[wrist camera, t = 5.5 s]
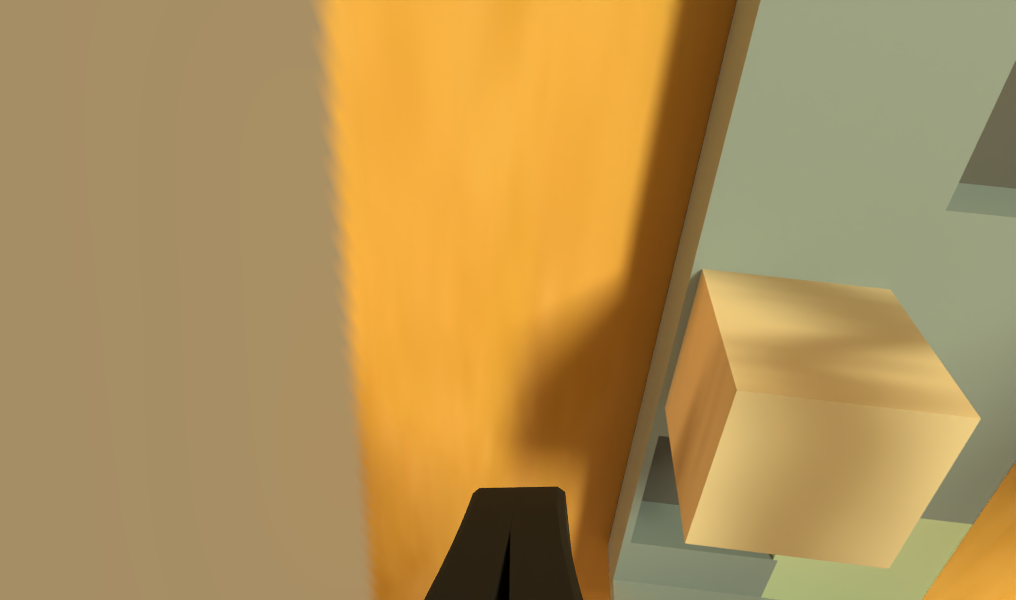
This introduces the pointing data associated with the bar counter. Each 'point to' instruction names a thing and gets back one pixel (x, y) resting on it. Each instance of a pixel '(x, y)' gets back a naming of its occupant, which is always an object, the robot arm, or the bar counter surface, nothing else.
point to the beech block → (808, 419)
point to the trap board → (848, 254)
